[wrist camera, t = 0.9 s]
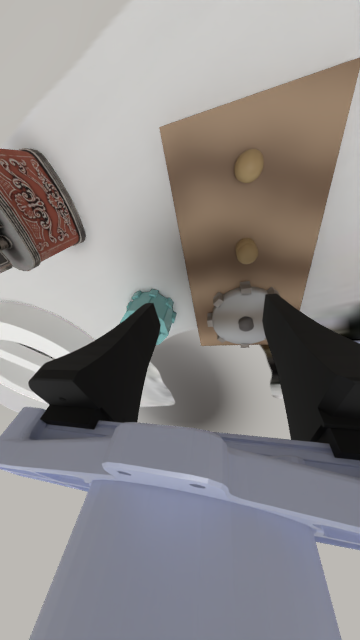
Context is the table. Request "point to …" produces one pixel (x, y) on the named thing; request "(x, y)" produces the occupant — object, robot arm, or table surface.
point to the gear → (161, 306)
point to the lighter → (33, 211)
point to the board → (255, 197)
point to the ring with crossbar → (33, 343)
